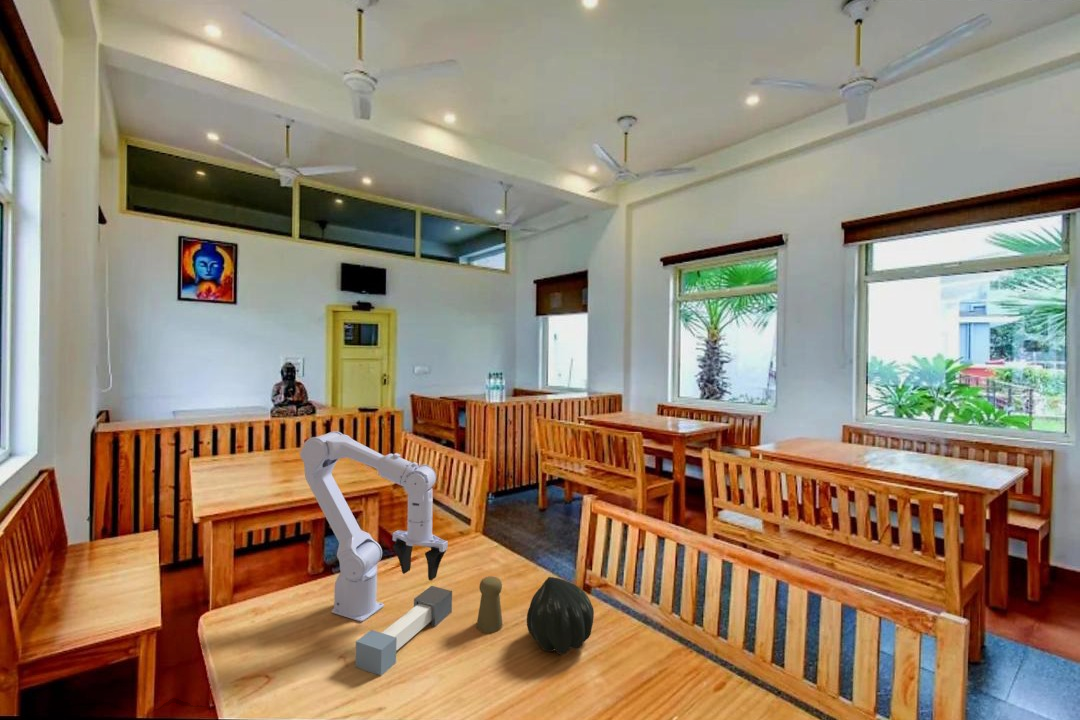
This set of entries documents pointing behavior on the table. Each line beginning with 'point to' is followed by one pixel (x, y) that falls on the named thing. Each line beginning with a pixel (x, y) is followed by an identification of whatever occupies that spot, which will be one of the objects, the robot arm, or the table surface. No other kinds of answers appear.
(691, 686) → the table surface
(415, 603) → the metal block
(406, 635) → the long white plank
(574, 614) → the squash
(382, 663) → the socket
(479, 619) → the olive game pawn
